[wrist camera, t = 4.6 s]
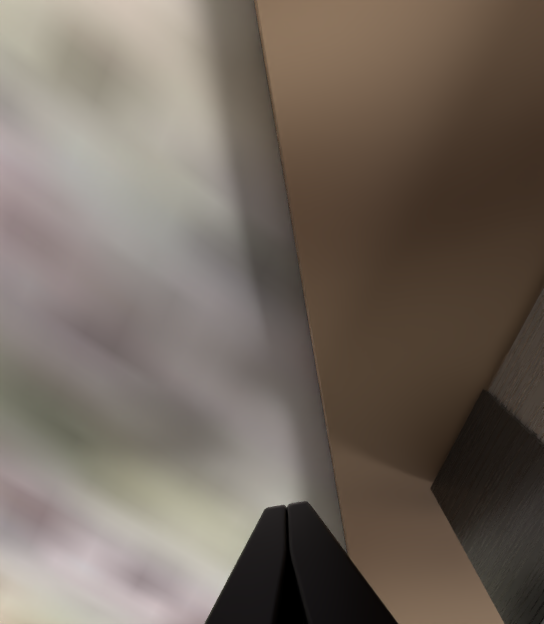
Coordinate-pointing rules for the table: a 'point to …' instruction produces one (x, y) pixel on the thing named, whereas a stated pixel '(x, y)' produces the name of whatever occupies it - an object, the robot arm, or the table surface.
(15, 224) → the table surface
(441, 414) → the board
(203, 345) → the table surface
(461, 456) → the tongs jaw
